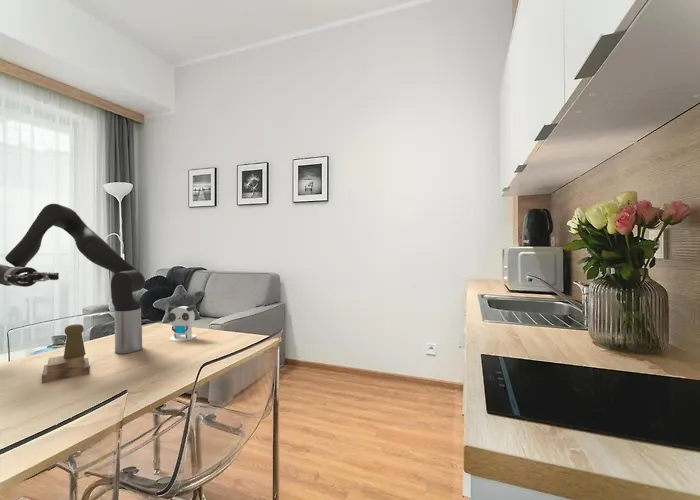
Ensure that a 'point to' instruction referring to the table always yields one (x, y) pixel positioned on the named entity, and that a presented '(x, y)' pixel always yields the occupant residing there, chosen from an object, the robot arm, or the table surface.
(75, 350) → the cork
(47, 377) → the walnut stand
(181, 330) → the panda figurine
